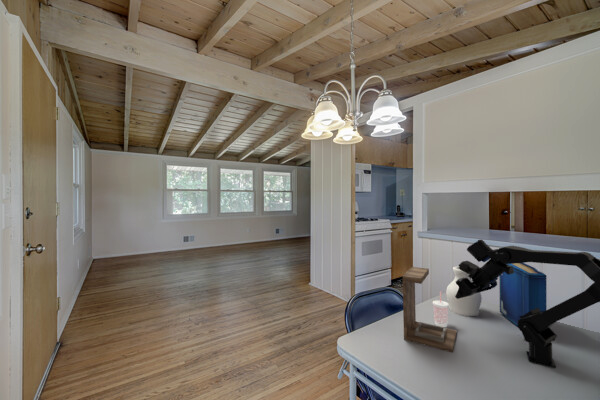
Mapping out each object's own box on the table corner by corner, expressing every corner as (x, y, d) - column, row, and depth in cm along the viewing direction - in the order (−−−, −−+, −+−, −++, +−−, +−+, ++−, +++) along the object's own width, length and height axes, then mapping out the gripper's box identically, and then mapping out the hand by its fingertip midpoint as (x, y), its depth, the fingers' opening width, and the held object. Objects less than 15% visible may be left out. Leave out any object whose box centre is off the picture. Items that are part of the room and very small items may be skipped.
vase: (476, 306, 131) (475, 265, 131) (486, 318, 117) (485, 273, 117) (443, 303, 135) (442, 263, 135) (450, 315, 122) (449, 271, 122)
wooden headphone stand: (452, 352, 92) (451, 282, 92) (403, 339, 101) (402, 275, 101) (456, 333, 105) (455, 271, 106) (413, 323, 114) (412, 266, 115)
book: (551, 339, 100) (549, 271, 100) (529, 337, 101) (527, 271, 101) (516, 314, 121) (515, 259, 121) (499, 313, 122) (497, 258, 123)
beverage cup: (439, 320, 117) (438, 287, 117) (452, 325, 111) (452, 292, 112) (429, 323, 114) (429, 290, 114) (442, 329, 109) (442, 294, 109)
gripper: (485, 252, 110) (461, 275, 118) (458, 257, 101) (434, 282, 109) (510, 274, 102) (482, 298, 111) (483, 282, 93) (455, 307, 102)
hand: (463, 295), depth 108 cm, fingers open, 9 cm apart
